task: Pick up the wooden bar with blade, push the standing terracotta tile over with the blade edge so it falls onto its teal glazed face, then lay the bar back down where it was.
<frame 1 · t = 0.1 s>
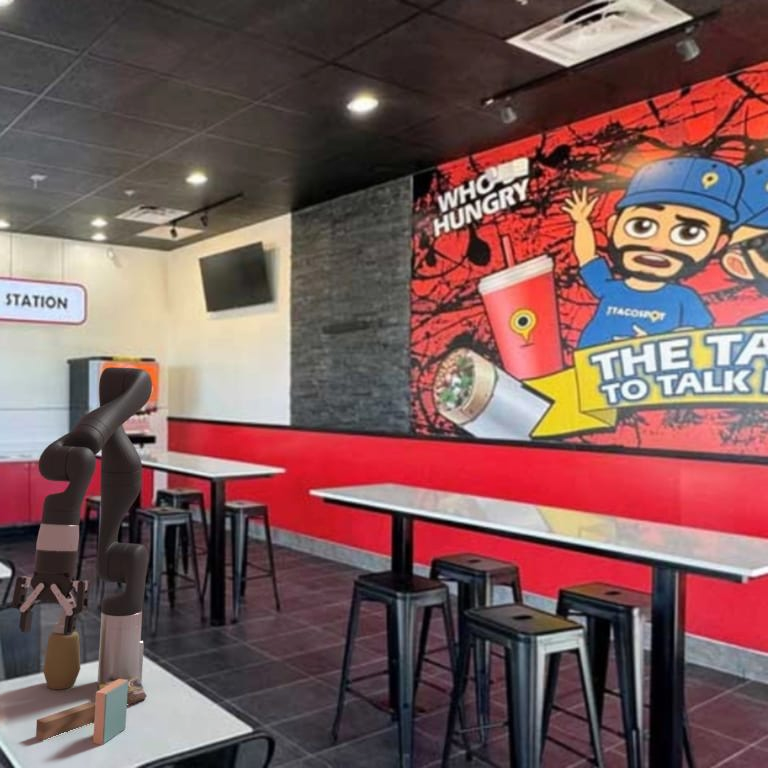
hand: (46, 633, 149), 22 cm above the table, tool pointing down, fingers open, 8 cm apart
wooden bar with blade: (73, 727, 159), on the table
squeeze bottle: (61, 686, 181), on the table
tile: (109, 736, 156), on the table
ceramic tile fragment: (123, 698, 176), on the table
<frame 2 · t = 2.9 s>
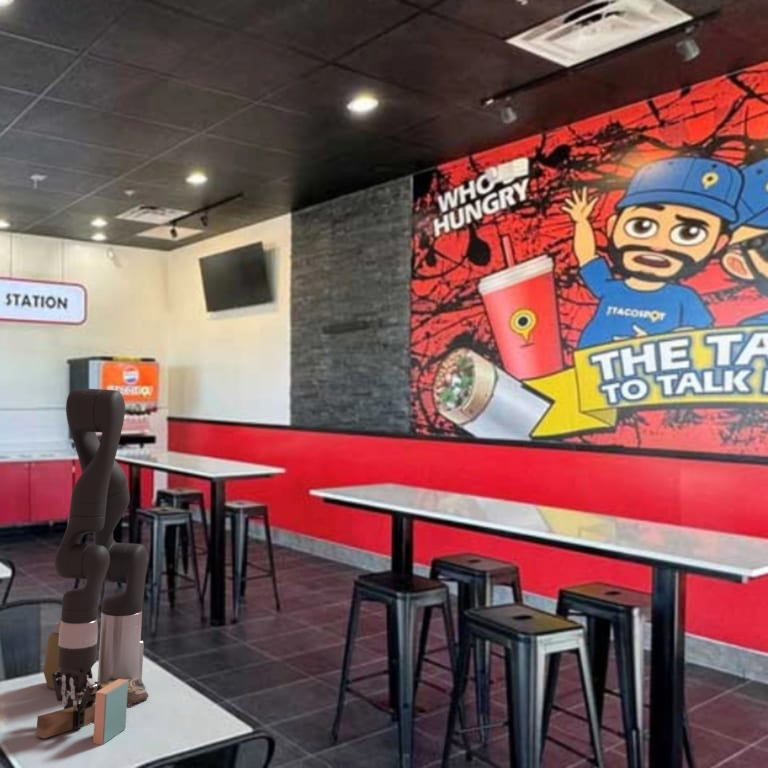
hand: (73, 725, 159), 0 cm above the table, tool pointing down, fingers closed on wooden bar with blade, 2 cm apart
wooden bar with blade: (73, 726, 159), on the table, touching gripper
everything else where it was.
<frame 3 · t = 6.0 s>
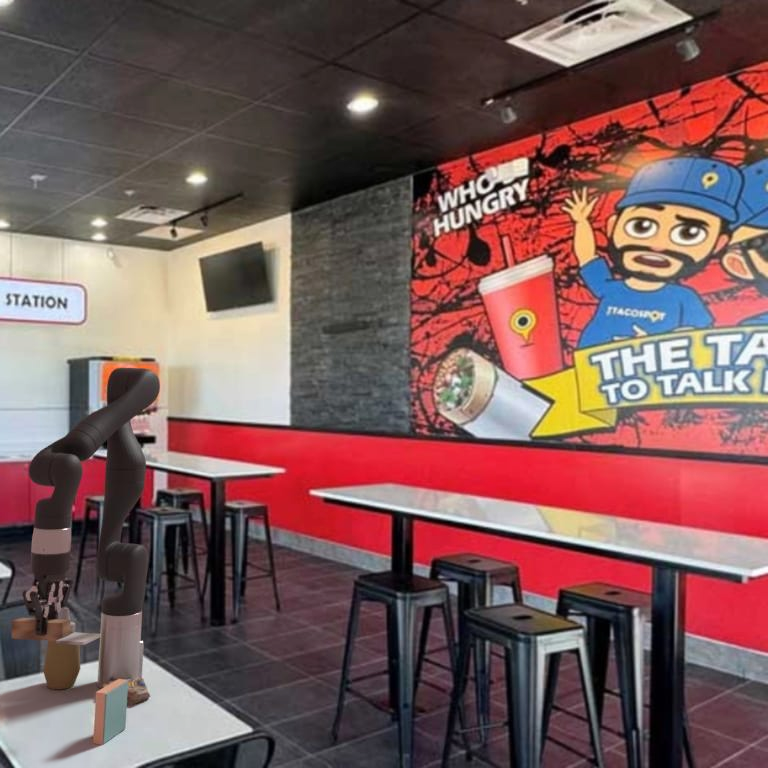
hand: (46, 632, 160), 19 cm above the table, tool pointing down, fingers closed on wooden bar with blade, 2 cm apart
wooden bar with blade: (47, 638, 160), point 18 cm above the table, touching gripper
everything else where it was.
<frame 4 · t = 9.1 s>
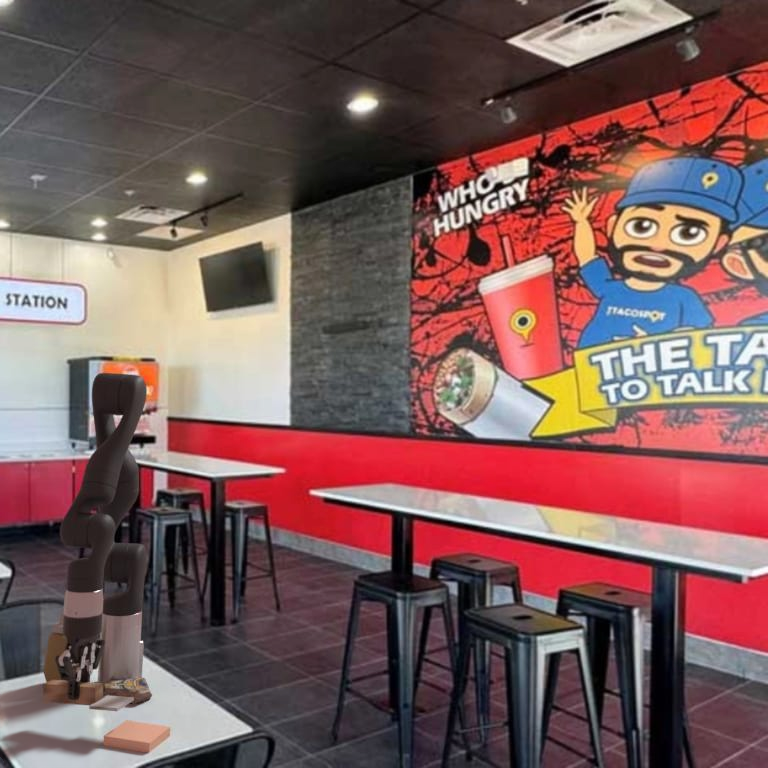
hand: (78, 695, 157), 7 cm above the table, tool pointing down, fingers closed on wooden bar with blade, 2 cm apart
wooden bar with blade: (79, 702, 157), point 6 cm above the table, touching gripper
tile: (115, 732, 155), point 1 cm above the table, tilted 90°
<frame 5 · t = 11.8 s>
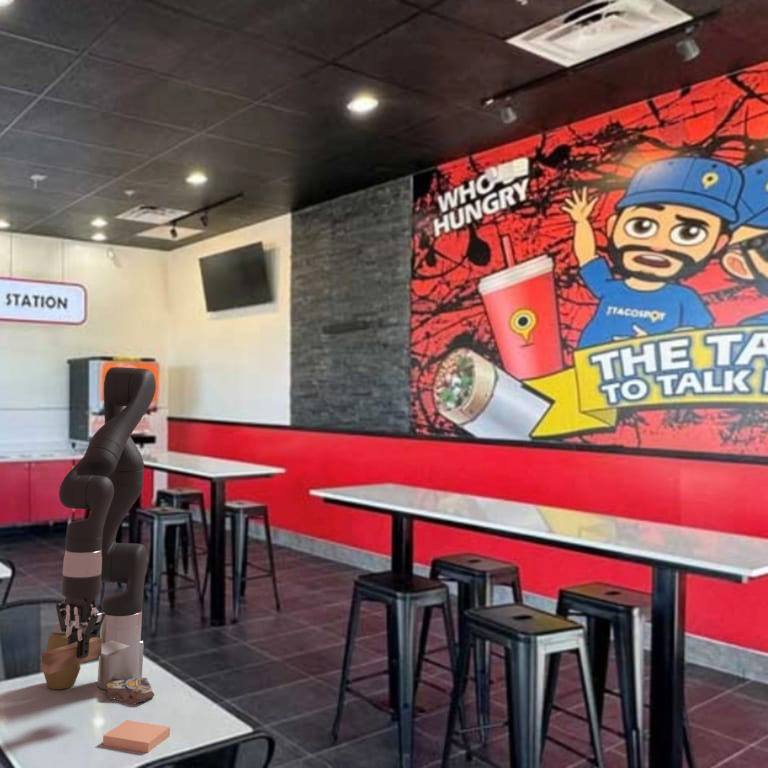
hand: (77, 655, 159), 15 cm above the table, tool pointing down, fingers closed on wooden bar with blade, 2 cm apart
wooden bar with blade: (78, 660, 160), point 13 cm above the table, touching gripper
ceramic tile fragment: (130, 697, 177), on the table, touching arm
everything else where it was.
when the fingers open (2 cm above the table, at t = 14.3 s): wooden bar with blade stays where it is, on the table.
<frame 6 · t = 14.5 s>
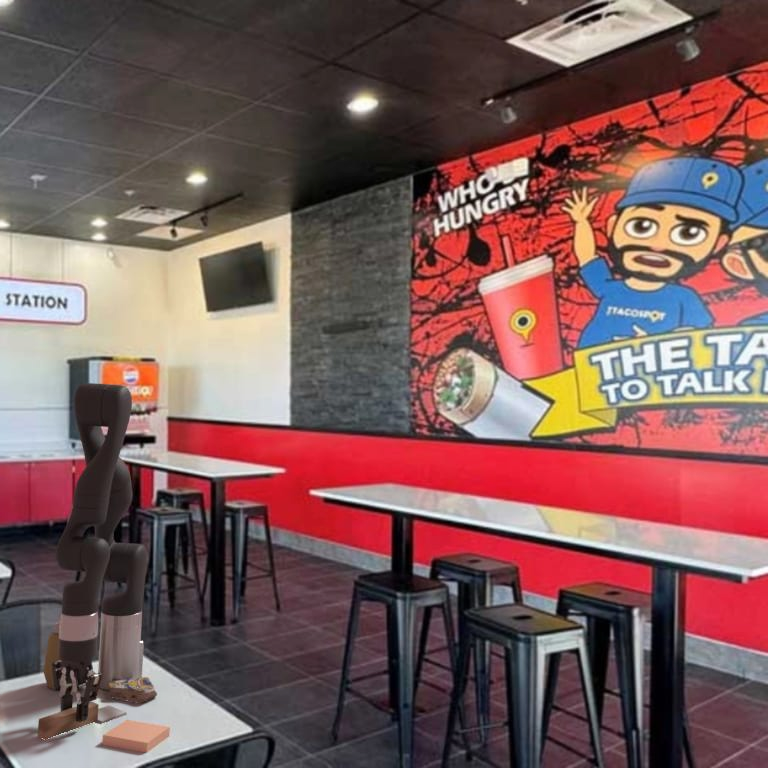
hand: (73, 717, 159), 2 cm above the table, tool pointing down, fingers open, 4 cm apart
wooden bar with blade: (74, 727, 159), on the table
ceramic tile fragment: (132, 697, 177), on the table
everything else where it was.
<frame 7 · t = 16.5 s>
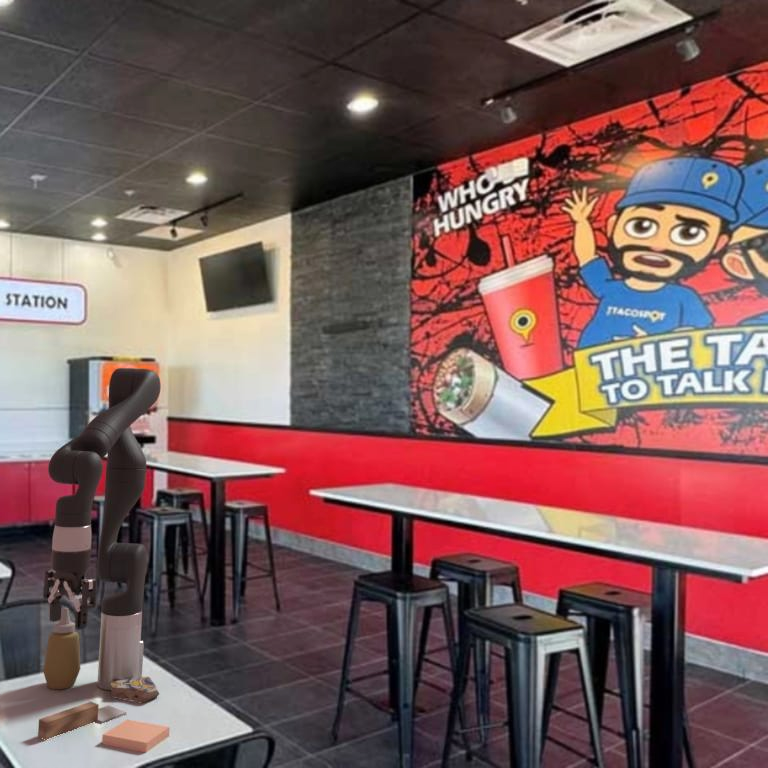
hand: (67, 624, 160), 21 cm above the table, tool pointing down, fingers open, 8 cm apart
nothing on the table moved.
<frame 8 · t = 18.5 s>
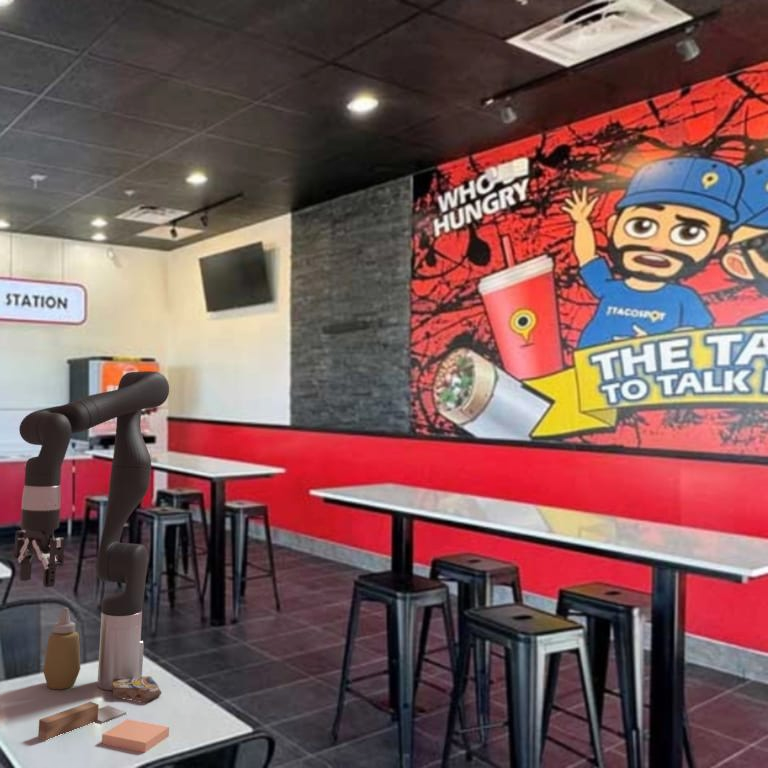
hand: (36, 583, 163), 28 cm above the table, tool pointing down, fingers open, 8 cm apart
nothing on the table moved.
at the end: tile tilted 90°; the gripper is holding nothing; wooden bar with blade moved 0.4 cm from its start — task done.
